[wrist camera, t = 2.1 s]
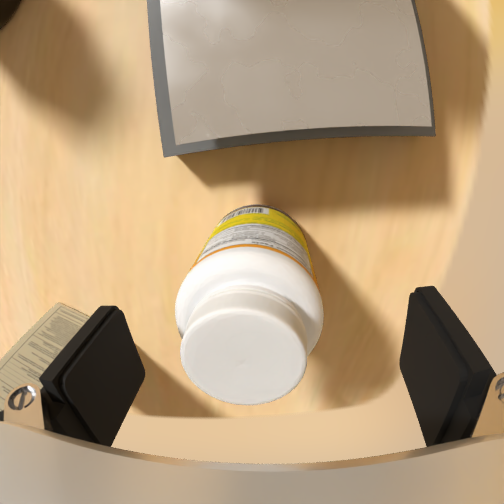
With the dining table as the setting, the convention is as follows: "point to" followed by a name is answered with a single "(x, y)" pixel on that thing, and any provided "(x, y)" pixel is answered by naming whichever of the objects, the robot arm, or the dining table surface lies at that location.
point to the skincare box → (38, 348)
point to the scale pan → (291, 66)
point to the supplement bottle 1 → (7, 10)
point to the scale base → (268, 137)
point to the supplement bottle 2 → (250, 308)
